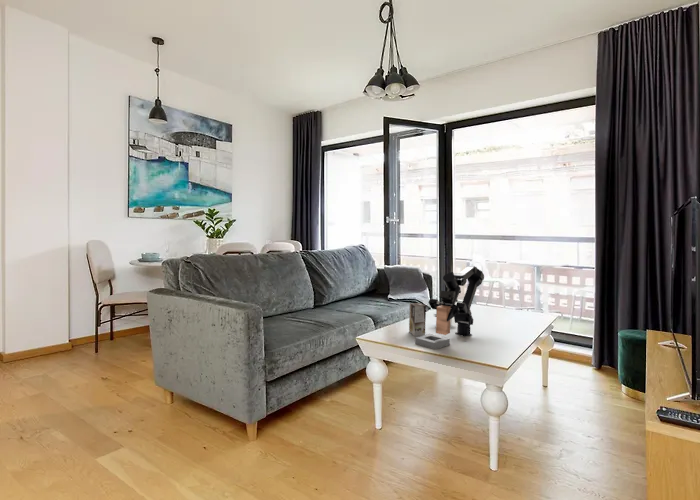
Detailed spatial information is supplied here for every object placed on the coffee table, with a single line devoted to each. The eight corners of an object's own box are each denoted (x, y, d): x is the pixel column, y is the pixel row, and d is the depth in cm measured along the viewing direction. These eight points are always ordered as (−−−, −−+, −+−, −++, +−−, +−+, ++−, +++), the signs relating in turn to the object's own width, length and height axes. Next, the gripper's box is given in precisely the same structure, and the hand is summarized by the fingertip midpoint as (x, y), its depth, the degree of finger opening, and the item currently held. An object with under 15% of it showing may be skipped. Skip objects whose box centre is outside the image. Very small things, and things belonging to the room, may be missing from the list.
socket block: (429, 339, 205) (429, 333, 205) (449, 344, 196) (449, 338, 196) (415, 343, 197) (415, 337, 197) (435, 349, 188) (435, 343, 188)
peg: (440, 331, 198) (441, 305, 197) (449, 332, 195) (450, 306, 194) (435, 333, 194) (436, 306, 193) (445, 335, 191) (446, 308, 190)
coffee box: (425, 335, 211) (426, 305, 211) (414, 336, 210) (414, 306, 210) (419, 331, 220) (420, 302, 220) (408, 331, 219) (409, 302, 218)
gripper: (430, 282, 202) (419, 307, 194) (466, 286, 190) (455, 312, 182) (437, 296, 208) (426, 320, 200) (471, 300, 197) (462, 326, 189)
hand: (442, 319), depth 193 cm, fingers closed on peg, 5 cm apart
